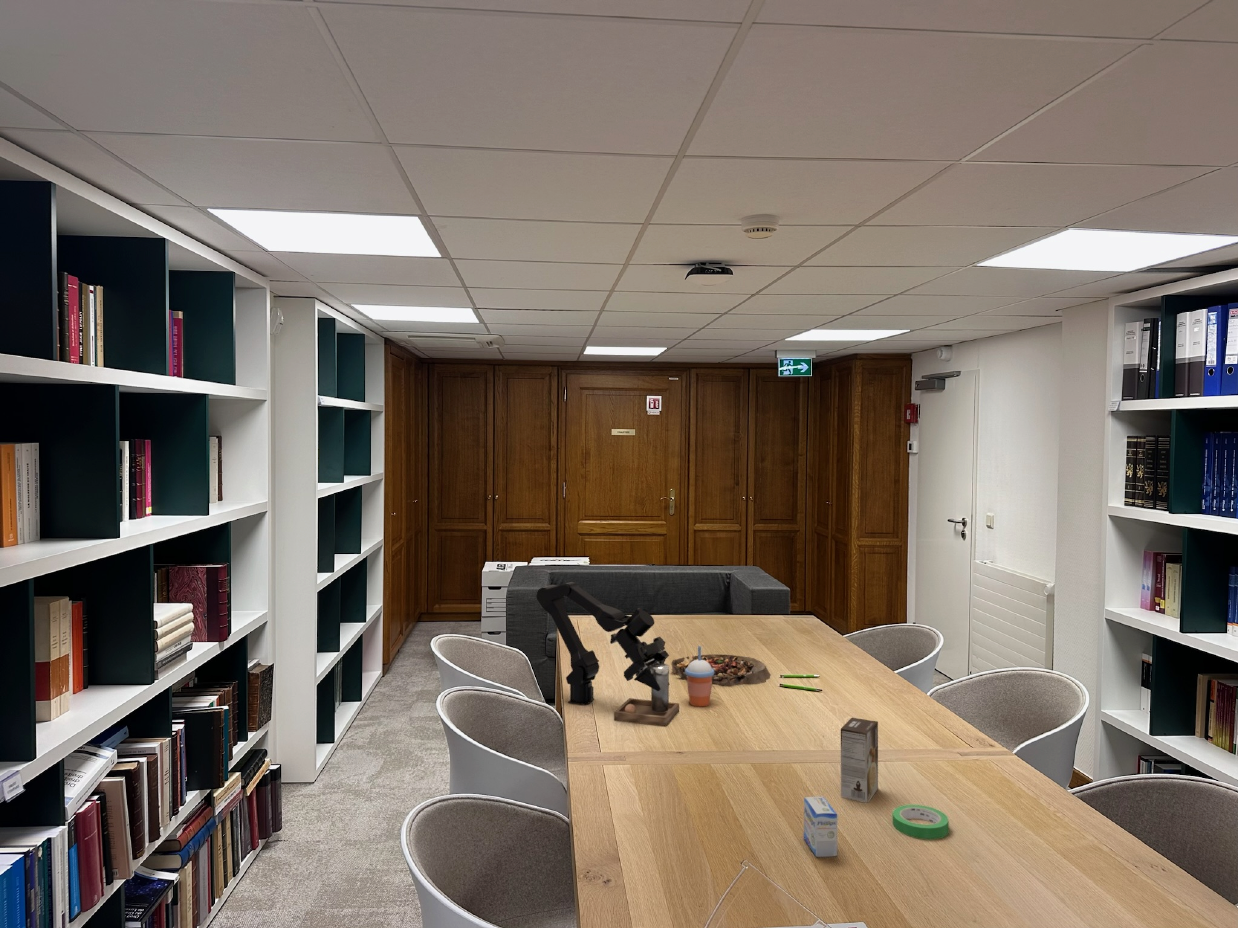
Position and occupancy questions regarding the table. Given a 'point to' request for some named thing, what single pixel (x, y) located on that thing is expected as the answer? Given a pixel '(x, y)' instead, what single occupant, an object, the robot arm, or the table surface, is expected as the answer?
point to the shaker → (662, 696)
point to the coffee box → (859, 759)
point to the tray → (646, 713)
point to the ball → (630, 708)
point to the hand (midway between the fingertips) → (664, 687)
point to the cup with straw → (699, 681)
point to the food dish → (728, 669)
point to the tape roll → (920, 830)
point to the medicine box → (820, 826)
